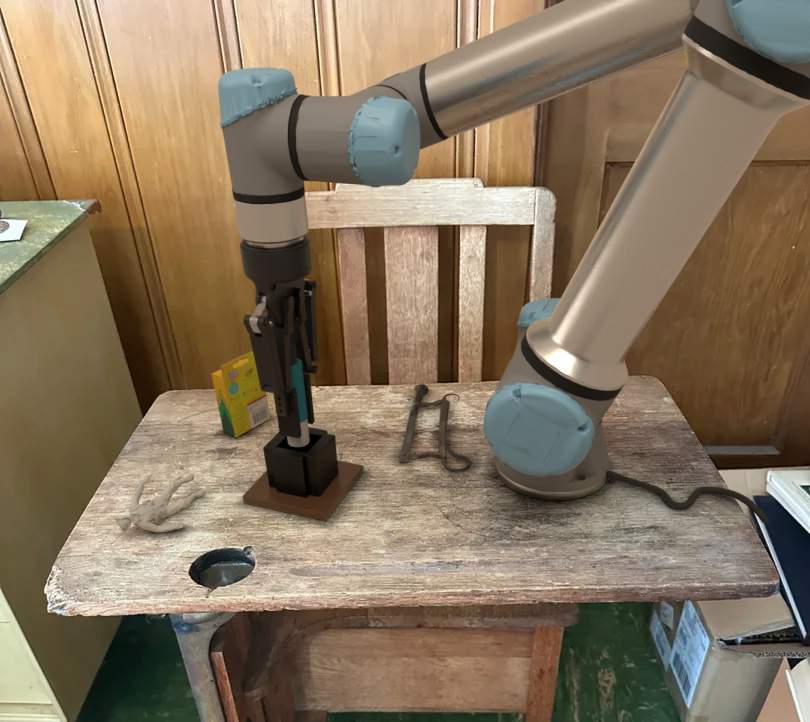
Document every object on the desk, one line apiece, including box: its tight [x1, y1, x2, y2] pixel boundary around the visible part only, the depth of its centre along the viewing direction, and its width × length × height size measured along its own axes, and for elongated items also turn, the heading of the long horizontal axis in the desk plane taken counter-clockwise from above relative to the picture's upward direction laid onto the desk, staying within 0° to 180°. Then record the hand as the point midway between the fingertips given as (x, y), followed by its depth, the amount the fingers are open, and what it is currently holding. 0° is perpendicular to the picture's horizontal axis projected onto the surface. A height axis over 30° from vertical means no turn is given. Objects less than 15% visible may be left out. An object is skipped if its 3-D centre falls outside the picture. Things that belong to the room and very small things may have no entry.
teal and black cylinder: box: [287, 343, 310, 447], centre depth 93 cm, size 3×3×13 cm
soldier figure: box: [114, 472, 206, 535], centre depth 96 cm, size 8×5×12 cm
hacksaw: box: [398, 383, 472, 473], centre depth 113 cm, size 24×10×2 cm, turn 173°
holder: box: [242, 426, 365, 522], centre depth 100 cm, size 12×12×7 cm
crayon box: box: [210, 350, 271, 439], centre depth 112 cm, size 7×3×12 cm, turn 141°
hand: (297, 427), depth 96 cm, fingers closed on teal and black cylinder, 3 cm apart
